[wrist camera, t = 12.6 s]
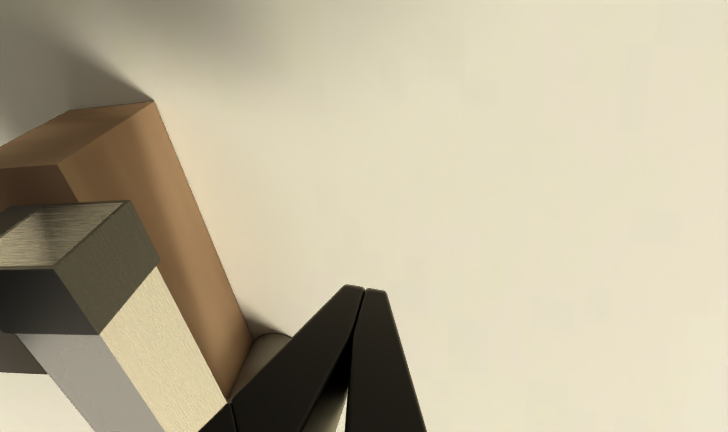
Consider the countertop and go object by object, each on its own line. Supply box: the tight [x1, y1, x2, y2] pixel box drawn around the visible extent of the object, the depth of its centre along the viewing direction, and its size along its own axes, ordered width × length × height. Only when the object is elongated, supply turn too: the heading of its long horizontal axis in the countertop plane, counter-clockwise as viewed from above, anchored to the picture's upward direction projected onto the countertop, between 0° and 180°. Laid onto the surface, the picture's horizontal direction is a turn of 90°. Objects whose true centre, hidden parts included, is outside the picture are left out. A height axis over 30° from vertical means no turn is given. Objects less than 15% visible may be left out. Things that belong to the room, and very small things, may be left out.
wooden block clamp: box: [0, 101, 291, 403], centre depth 17 cm, size 5×22×6 cm, turn 9°
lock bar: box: [0, 200, 227, 432], centre depth 12 cm, size 12×3×3 cm, turn 9°
